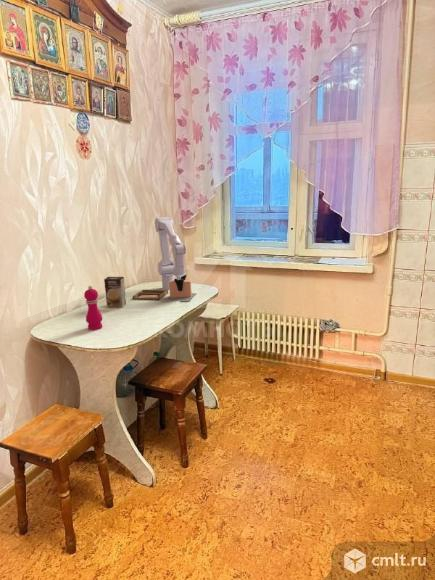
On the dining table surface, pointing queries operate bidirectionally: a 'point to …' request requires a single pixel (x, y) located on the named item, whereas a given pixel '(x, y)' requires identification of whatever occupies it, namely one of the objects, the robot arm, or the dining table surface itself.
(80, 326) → the dining table surface
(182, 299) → the mat
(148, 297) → the offcut top
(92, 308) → the pepper mill
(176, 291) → the salmon orange block
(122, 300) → the coffee box
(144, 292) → the rack
